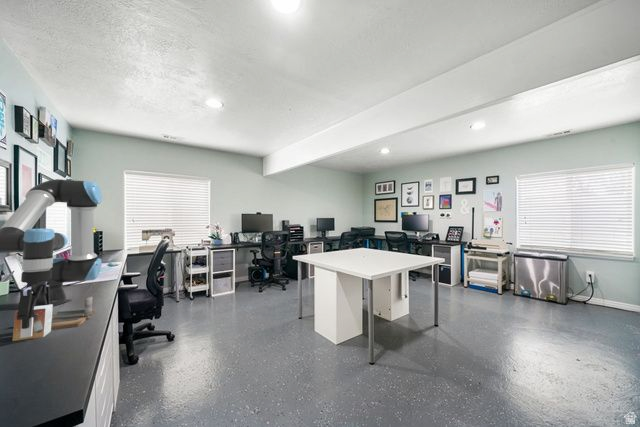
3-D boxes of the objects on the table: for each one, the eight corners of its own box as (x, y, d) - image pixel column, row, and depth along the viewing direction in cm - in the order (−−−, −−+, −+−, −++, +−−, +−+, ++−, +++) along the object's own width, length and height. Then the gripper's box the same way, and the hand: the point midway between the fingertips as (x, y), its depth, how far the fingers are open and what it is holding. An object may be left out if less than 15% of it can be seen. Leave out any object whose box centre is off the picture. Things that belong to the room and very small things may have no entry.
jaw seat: (50, 317, 110) (51, 296, 111) (98, 311, 118) (99, 292, 118) (24, 333, 94) (26, 308, 95) (82, 325, 101) (83, 302, 102)
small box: (11, 342, 87) (14, 311, 88) (21, 335, 92) (23, 306, 93) (43, 337, 91) (45, 308, 91) (51, 331, 96) (53, 303, 96)
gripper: (39, 266, 101) (36, 323, 100) (3, 276, 82) (-2, 346, 81) (64, 265, 104) (61, 320, 103) (34, 274, 85) (30, 342, 84)
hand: (33, 332), depth 92 cm, fingers open, 8 cm apart
